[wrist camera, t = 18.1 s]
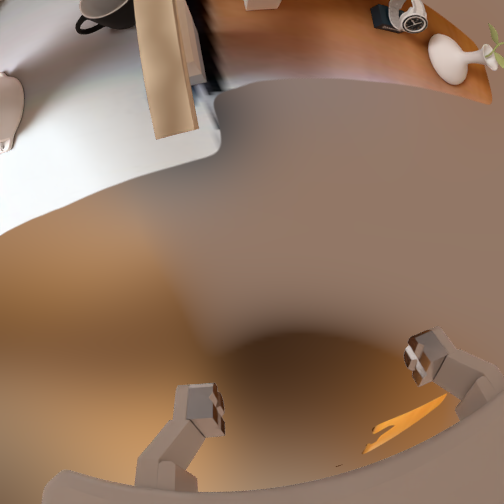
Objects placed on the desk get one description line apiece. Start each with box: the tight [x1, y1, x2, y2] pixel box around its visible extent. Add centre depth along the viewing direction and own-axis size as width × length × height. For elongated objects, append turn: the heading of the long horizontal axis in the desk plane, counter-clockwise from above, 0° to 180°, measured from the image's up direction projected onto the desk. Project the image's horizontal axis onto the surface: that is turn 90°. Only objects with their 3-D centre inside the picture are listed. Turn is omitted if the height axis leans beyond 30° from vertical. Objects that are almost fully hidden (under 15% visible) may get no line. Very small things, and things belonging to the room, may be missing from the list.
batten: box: [134, 0, 199, 140], centre depth 17 cm, size 4×22×4 cm, turn 9°
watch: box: [370, 0, 428, 33], centre depth 24 cm, size 6×8×11 cm
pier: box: [176, 0, 207, 86], centre depth 26 cm, size 5×9×16 cm, turn 9°
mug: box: [76, 0, 136, 34], centre depth 22 cm, size 12×9×10 cm
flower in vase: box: [428, 23, 504, 85], centre depth 21 cm, size 13×11×25 cm
